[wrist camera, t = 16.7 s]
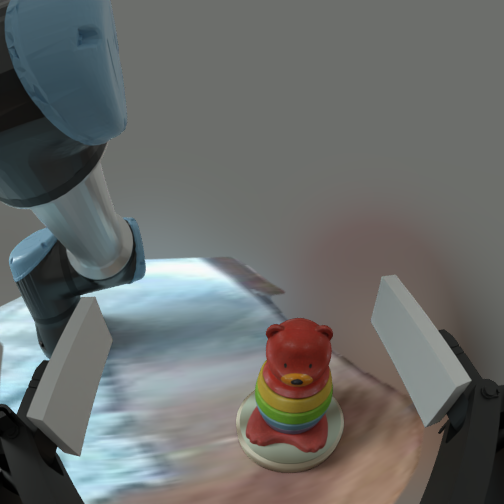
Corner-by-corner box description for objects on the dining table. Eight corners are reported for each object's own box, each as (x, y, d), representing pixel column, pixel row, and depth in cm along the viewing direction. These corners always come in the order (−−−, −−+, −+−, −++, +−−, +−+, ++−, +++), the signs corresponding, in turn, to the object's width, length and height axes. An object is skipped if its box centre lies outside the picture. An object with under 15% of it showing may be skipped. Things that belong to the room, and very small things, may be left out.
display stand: (227, 400, 42) (225, 390, 41) (317, 378, 45) (319, 367, 44) (252, 485, 30) (252, 479, 28) (356, 451, 33) (362, 443, 31)
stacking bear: (242, 443, 33) (230, 361, 24) (259, 386, 41) (257, 292, 33) (324, 455, 31) (358, 377, 22) (331, 395, 39) (355, 302, 30)
